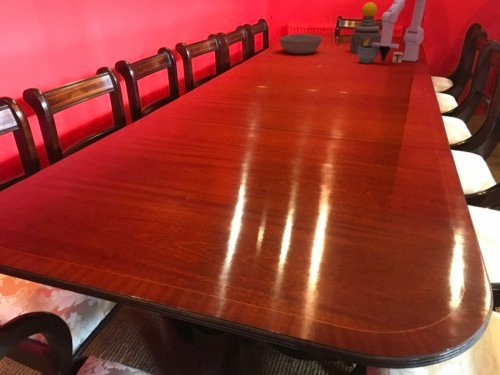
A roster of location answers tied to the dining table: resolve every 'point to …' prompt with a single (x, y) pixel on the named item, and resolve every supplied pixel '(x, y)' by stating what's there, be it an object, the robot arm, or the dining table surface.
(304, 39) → the bowl
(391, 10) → the robot arm
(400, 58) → the letter cube
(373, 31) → the decorative lamp
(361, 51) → the flower pot
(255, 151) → the dining table surface
